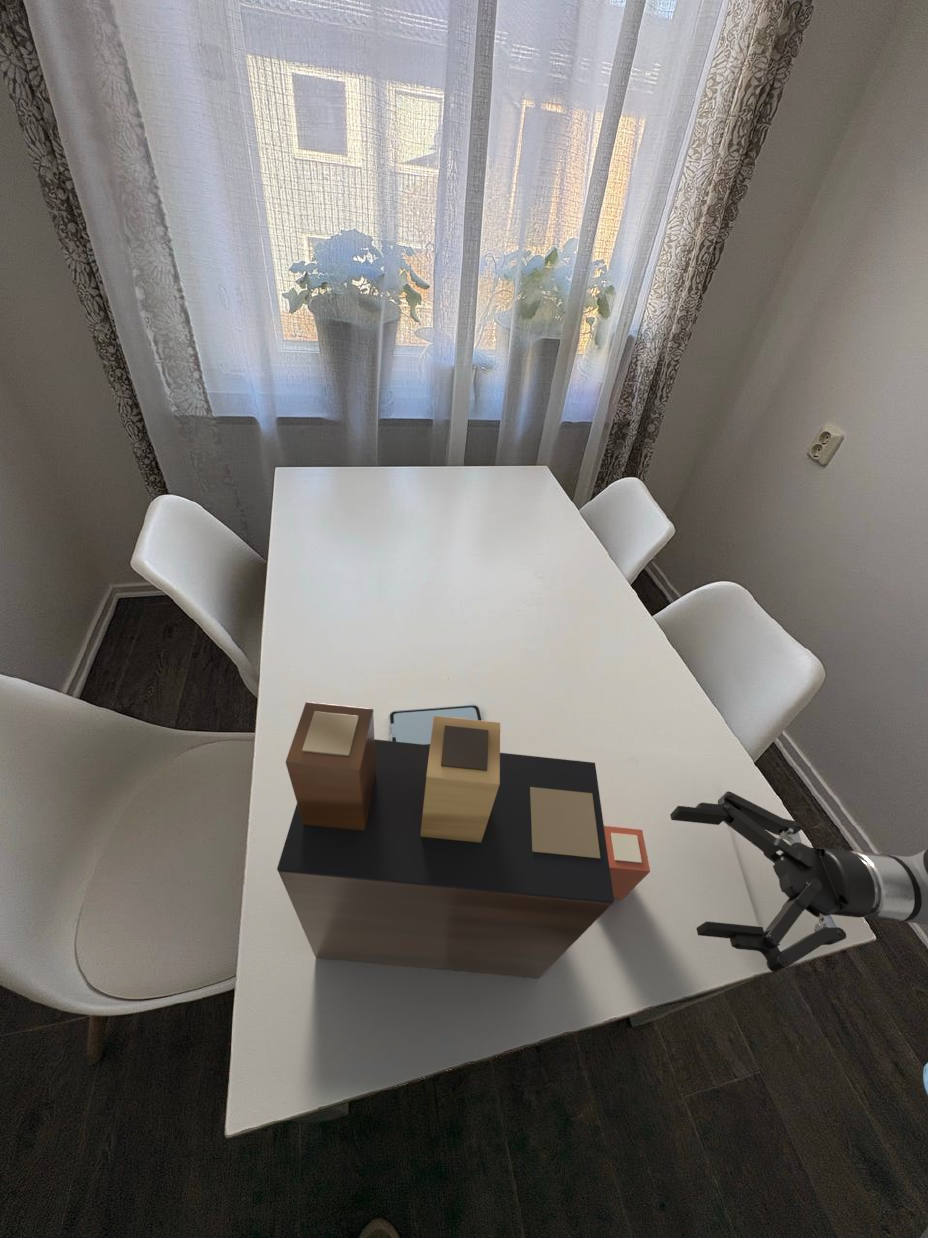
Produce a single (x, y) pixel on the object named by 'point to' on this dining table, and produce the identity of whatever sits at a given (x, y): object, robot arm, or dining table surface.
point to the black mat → (503, 862)
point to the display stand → (436, 925)
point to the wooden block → (333, 765)
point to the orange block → (626, 859)
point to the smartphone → (425, 721)
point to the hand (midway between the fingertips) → (686, 866)
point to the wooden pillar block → (461, 778)
